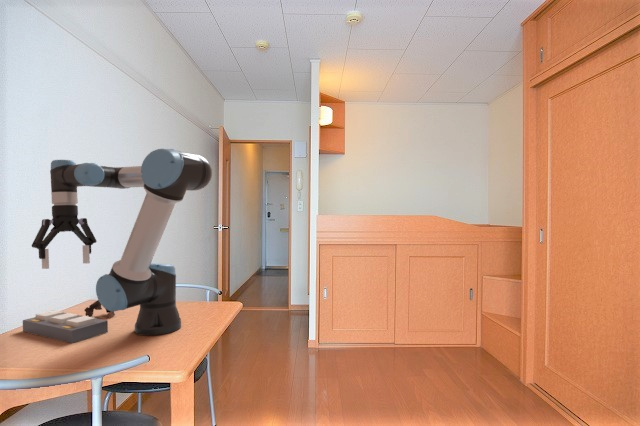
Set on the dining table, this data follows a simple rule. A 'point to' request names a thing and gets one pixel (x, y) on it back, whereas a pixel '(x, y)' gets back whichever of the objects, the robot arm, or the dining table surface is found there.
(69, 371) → the dining table surface
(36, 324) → the keypad
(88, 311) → the dark brown knobbly arch
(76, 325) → the key
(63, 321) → the key middle
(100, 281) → the robot arm
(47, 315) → the key
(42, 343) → the dining table surface
